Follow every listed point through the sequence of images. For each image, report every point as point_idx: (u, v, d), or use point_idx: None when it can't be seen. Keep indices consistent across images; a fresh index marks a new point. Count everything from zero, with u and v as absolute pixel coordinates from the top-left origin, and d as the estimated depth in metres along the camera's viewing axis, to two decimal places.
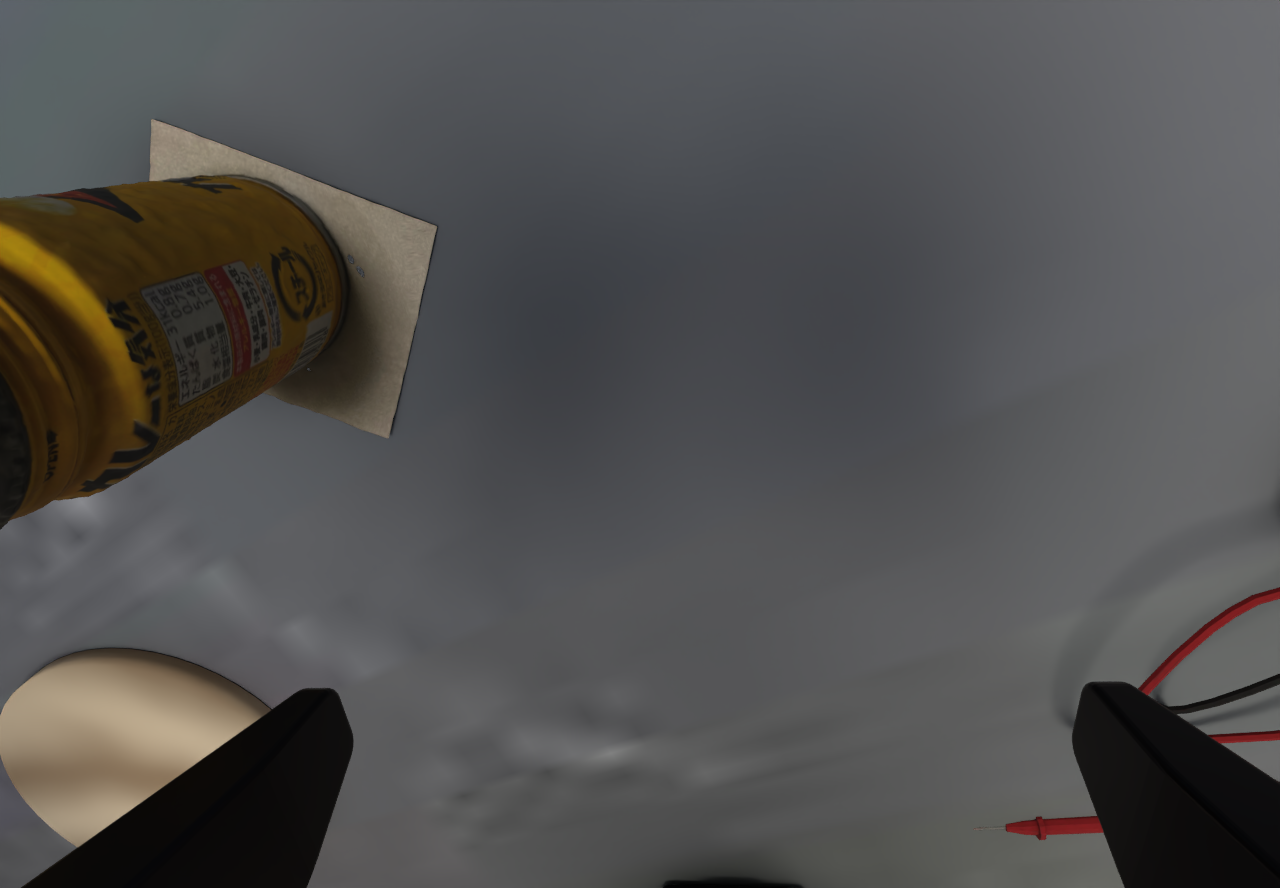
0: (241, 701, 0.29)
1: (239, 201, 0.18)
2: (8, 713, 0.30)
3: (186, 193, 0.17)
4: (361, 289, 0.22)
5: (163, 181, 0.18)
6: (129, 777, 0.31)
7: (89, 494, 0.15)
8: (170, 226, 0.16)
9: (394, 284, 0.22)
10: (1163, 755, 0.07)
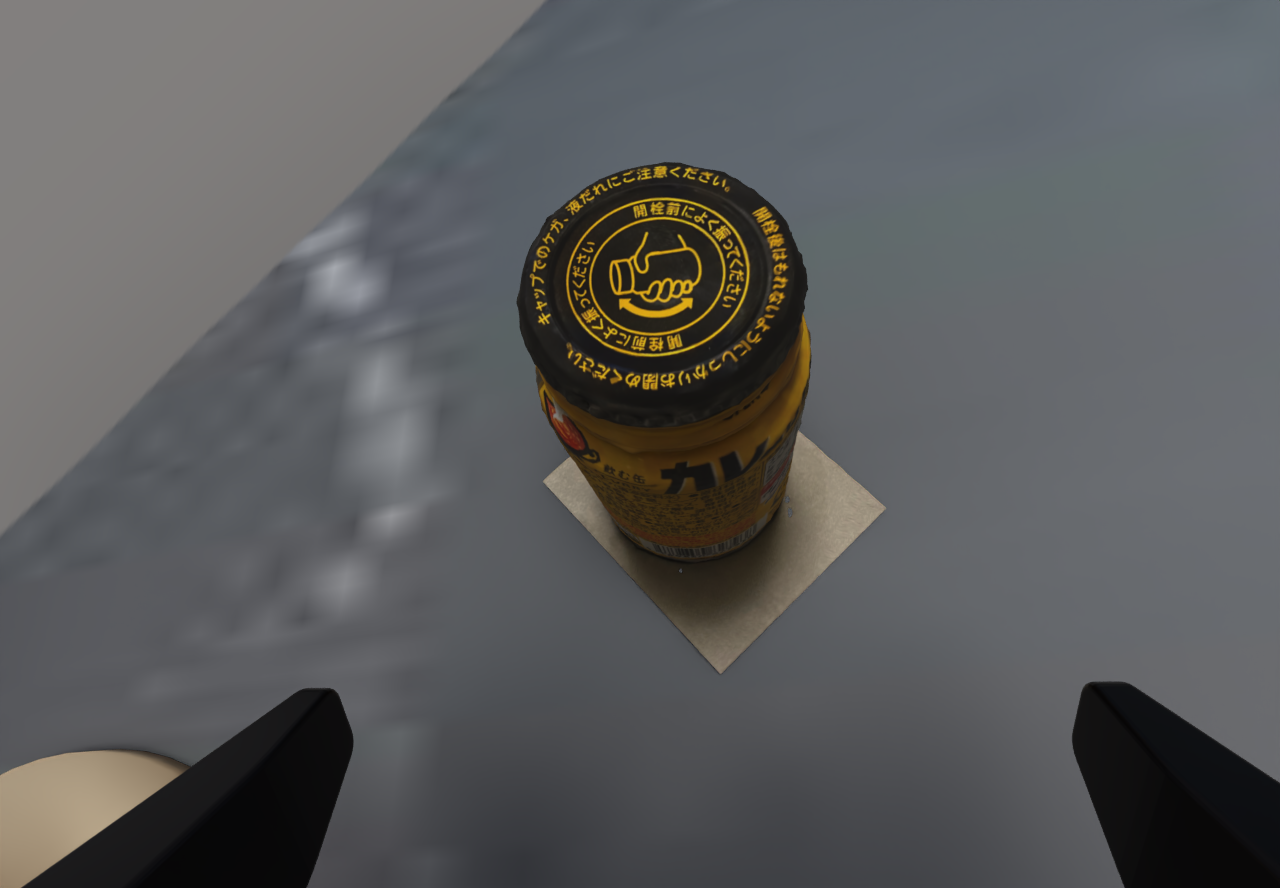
0: None
1: None
2: None
3: None
4: (782, 526, 0.23)
5: None
6: None
7: (657, 481, 0.14)
8: None
9: (817, 535, 0.22)
10: (1163, 755, 0.07)
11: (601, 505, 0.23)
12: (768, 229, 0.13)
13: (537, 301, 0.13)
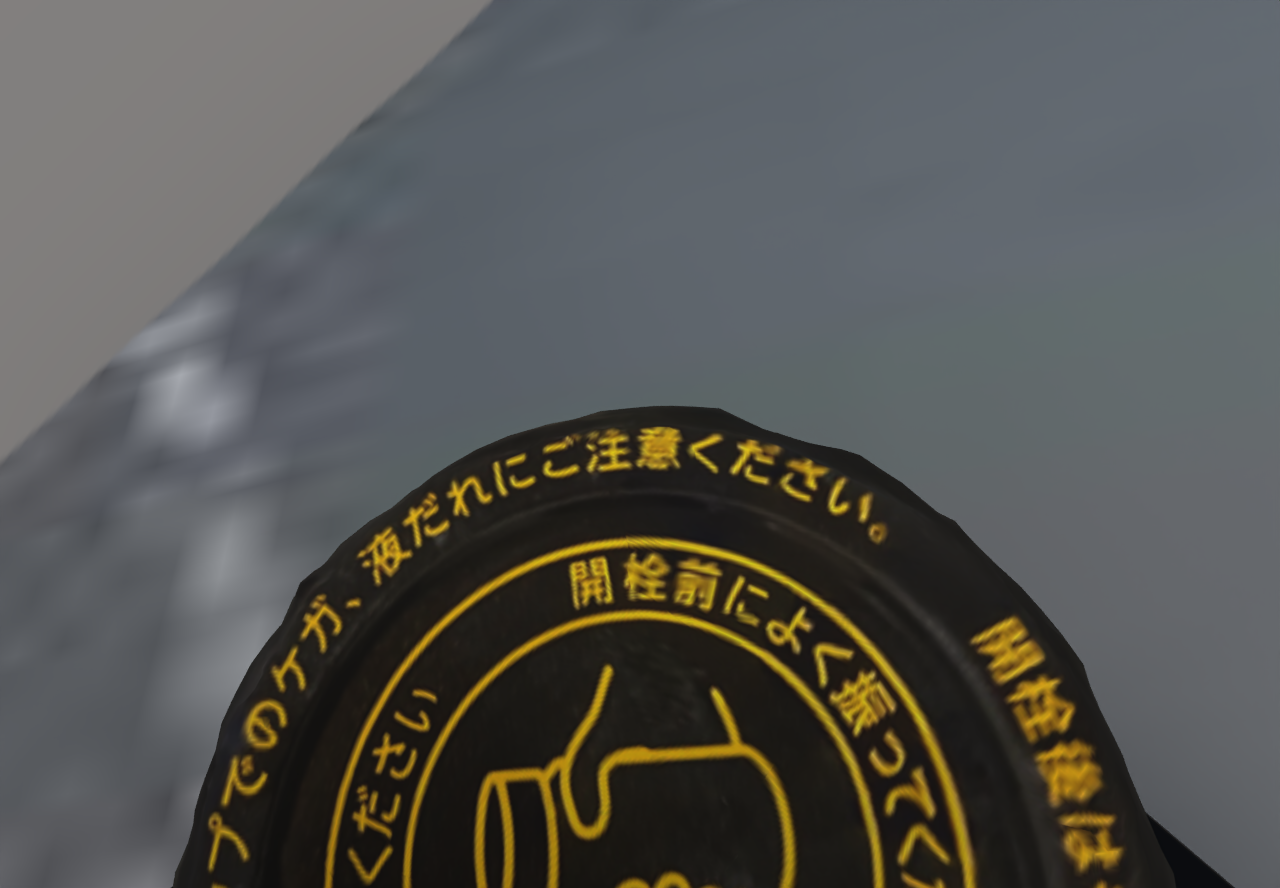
0: None
1: None
2: None
3: None
4: None
5: None
6: None
7: None
8: None
9: None
10: None
11: None
12: (1036, 716, 0.04)
13: None
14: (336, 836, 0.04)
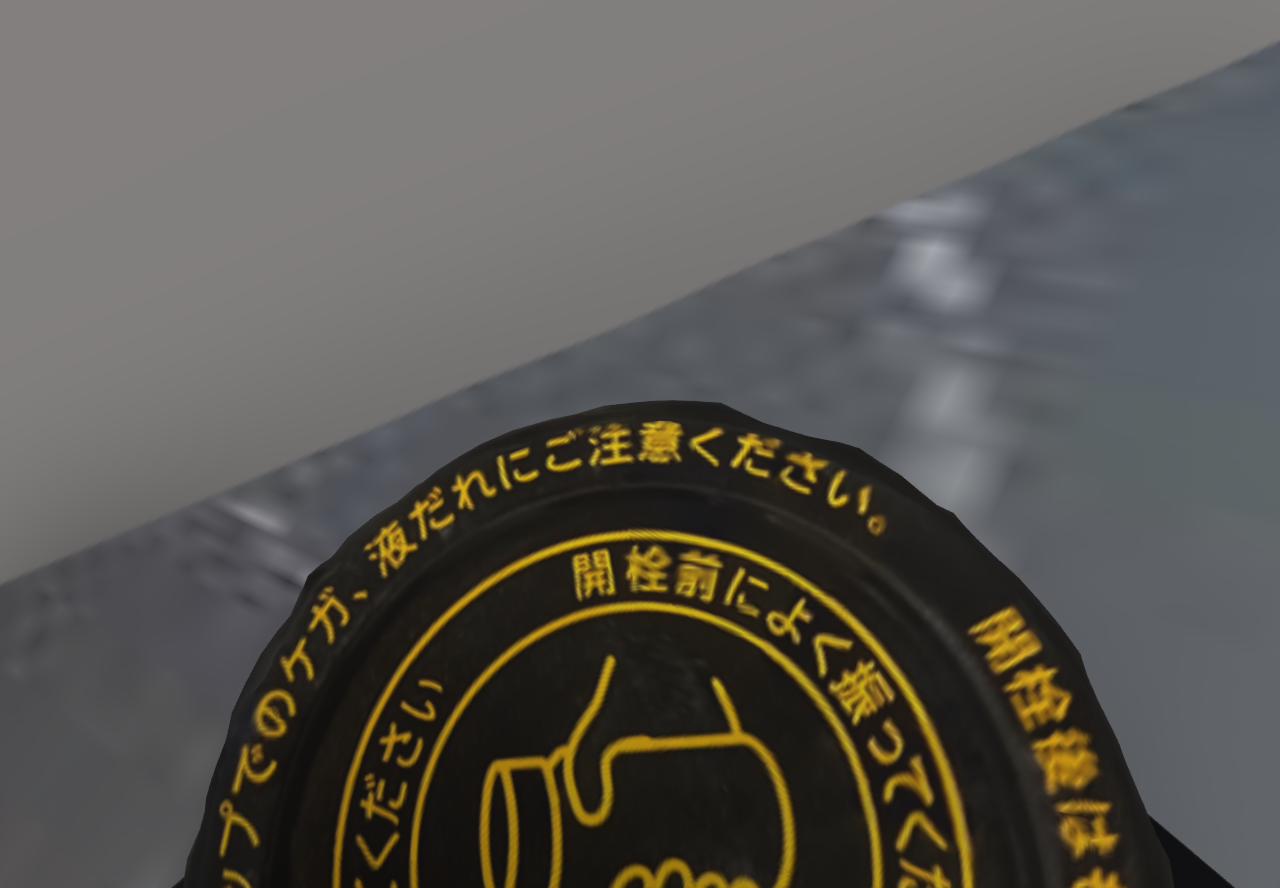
0: None
1: None
2: None
3: None
4: None
5: None
6: None
7: None
8: None
9: None
10: None
11: None
12: (1032, 705, 0.04)
13: None
14: (344, 822, 0.04)
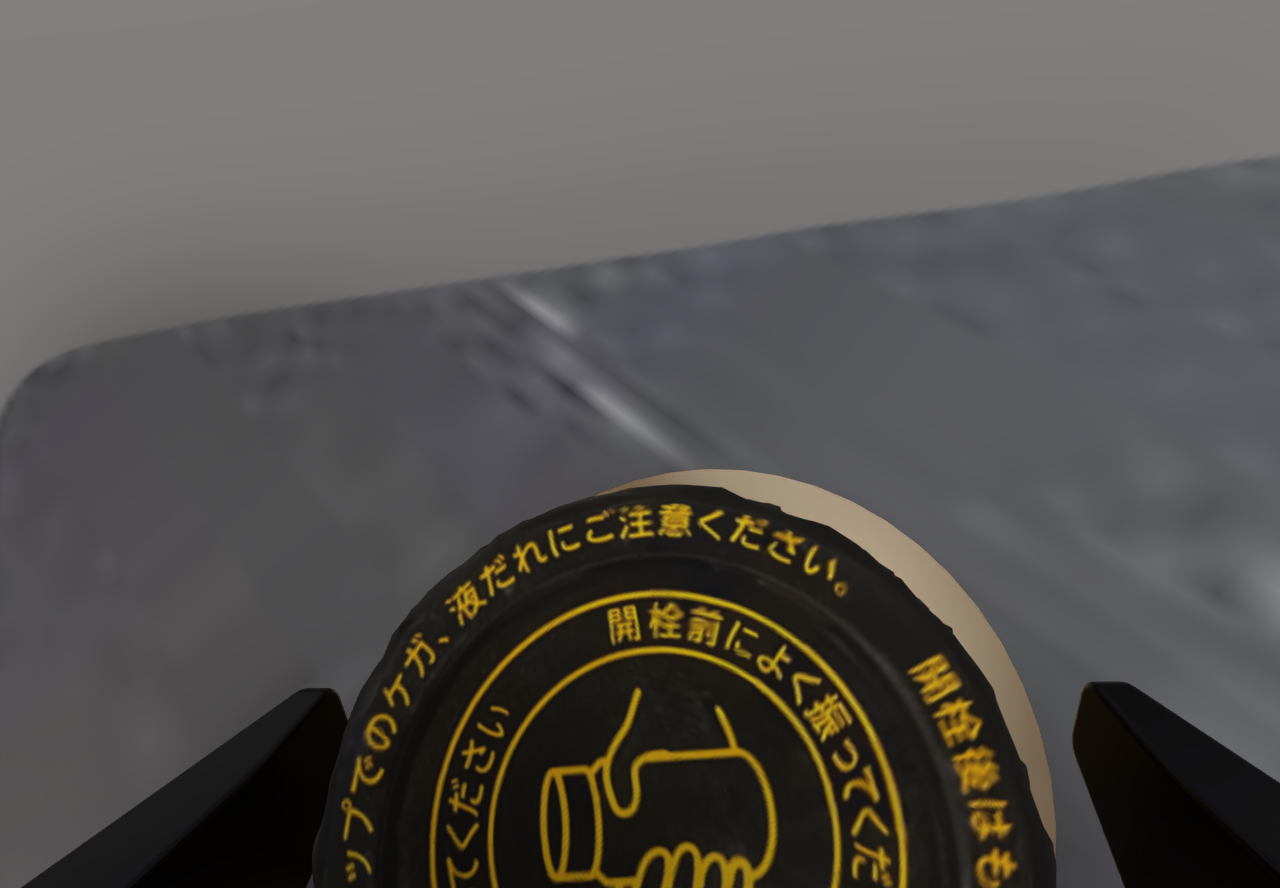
0: None
1: None
2: (793, 490, 0.18)
3: None
4: None
5: None
6: None
7: None
8: None
9: None
10: (1163, 755, 0.07)
11: None
12: (953, 728, 0.05)
13: None
14: (436, 815, 0.05)
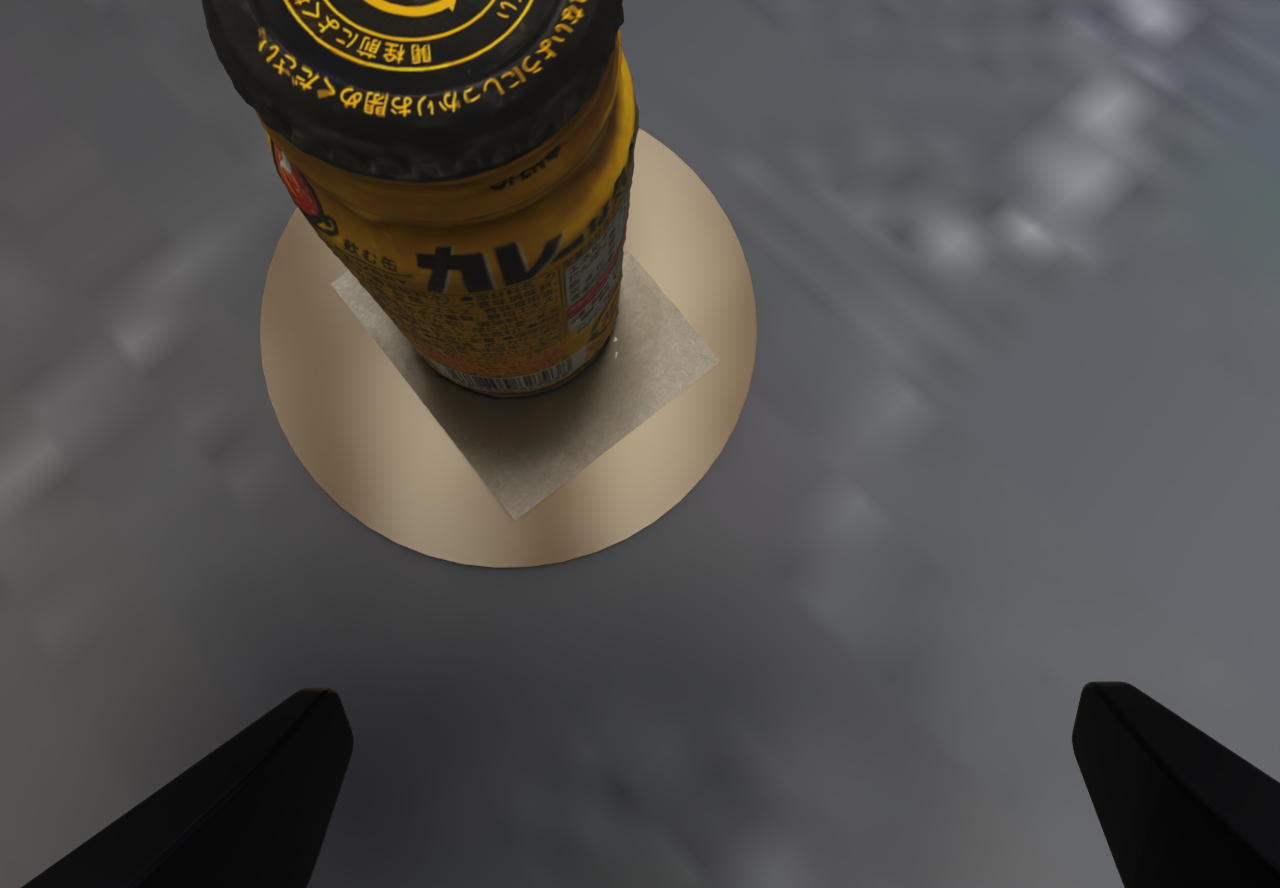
0: None
1: None
2: None
3: None
4: (606, 368, 0.20)
5: None
6: None
7: (412, 270, 0.11)
8: None
9: (643, 383, 0.20)
10: (1163, 755, 0.07)
11: None
12: None
13: None
14: None
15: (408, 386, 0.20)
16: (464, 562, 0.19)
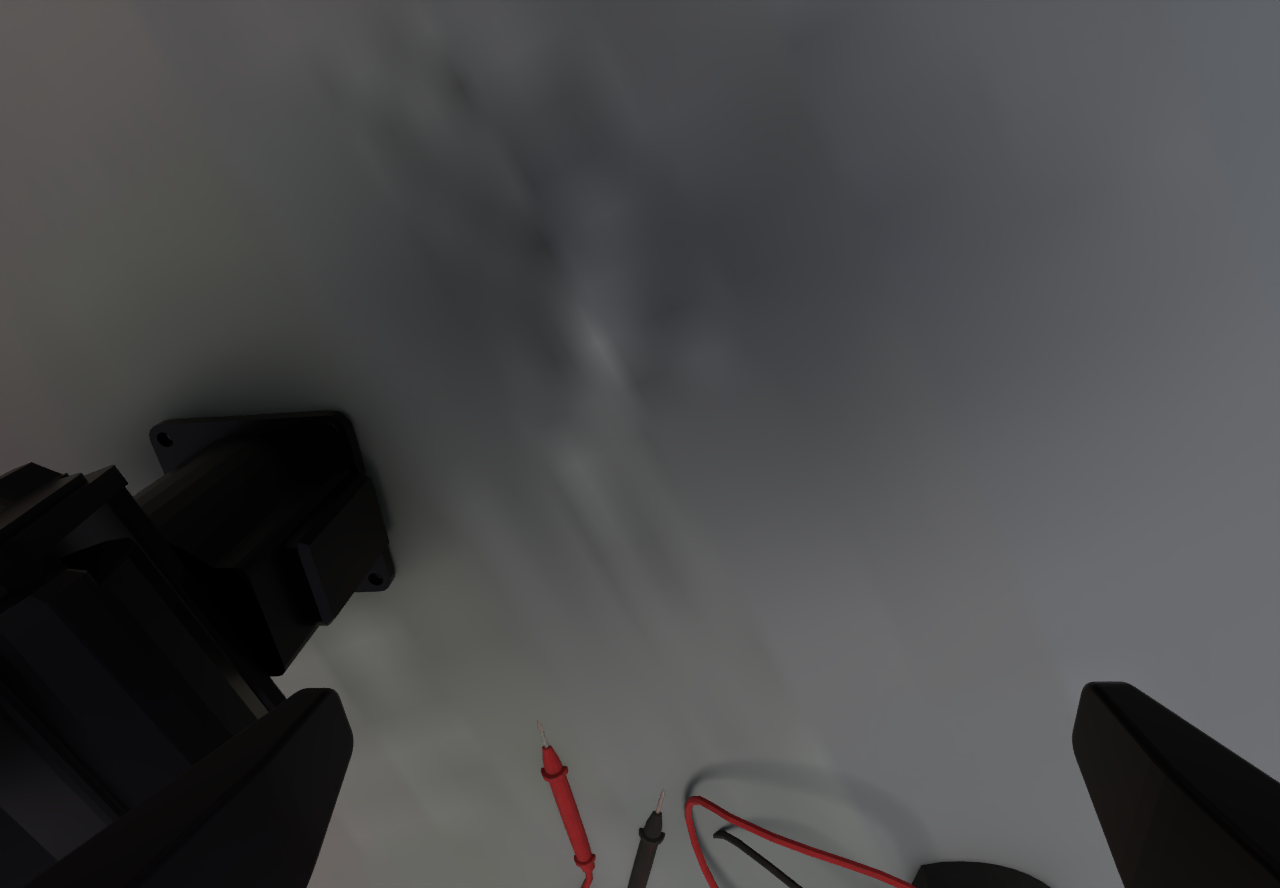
0: None
1: None
2: None
3: None
4: None
5: None
6: None
7: None
8: None
9: None
10: (1163, 755, 0.07)
11: None
12: None
13: None
14: None
15: None
16: None
